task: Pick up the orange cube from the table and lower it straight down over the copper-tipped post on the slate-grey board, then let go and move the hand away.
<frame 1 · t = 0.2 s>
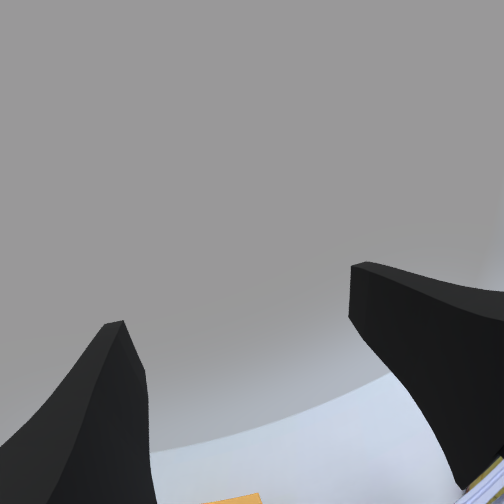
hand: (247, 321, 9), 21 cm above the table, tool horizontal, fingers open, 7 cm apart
sauce bottle: (485, 497, 13), on the table
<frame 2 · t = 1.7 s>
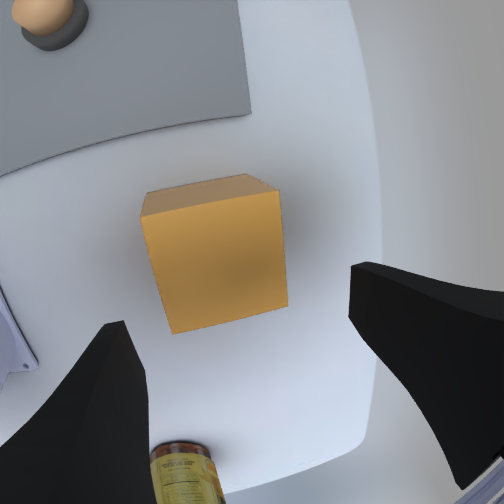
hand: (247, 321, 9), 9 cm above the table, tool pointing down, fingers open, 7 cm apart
post board: (67, 31, 11), on the table
orange cube: (205, 230, 17), on the table
sauce bottle: (179, 452, 24), on the table
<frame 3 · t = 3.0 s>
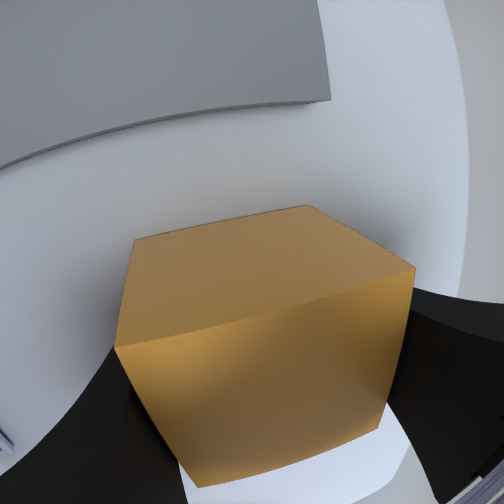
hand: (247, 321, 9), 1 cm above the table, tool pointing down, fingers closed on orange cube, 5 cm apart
orange cube: (236, 298, 10), on the table, touching gripper
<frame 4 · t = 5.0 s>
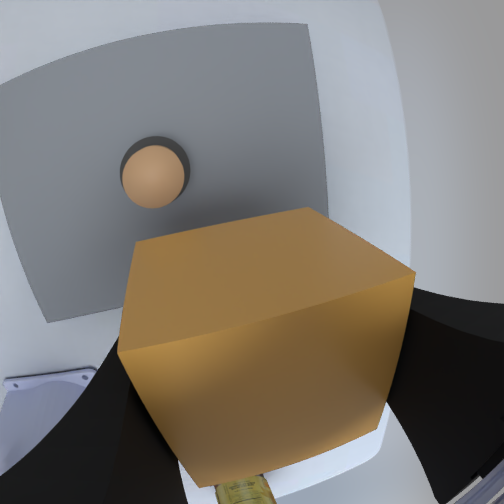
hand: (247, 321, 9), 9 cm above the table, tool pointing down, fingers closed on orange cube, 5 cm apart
post board: (156, 165, 15), on the table
orange cube: (237, 299, 10), point 8 cm above the table, touching gripper
sauce bottle: (237, 474, 29), on the table
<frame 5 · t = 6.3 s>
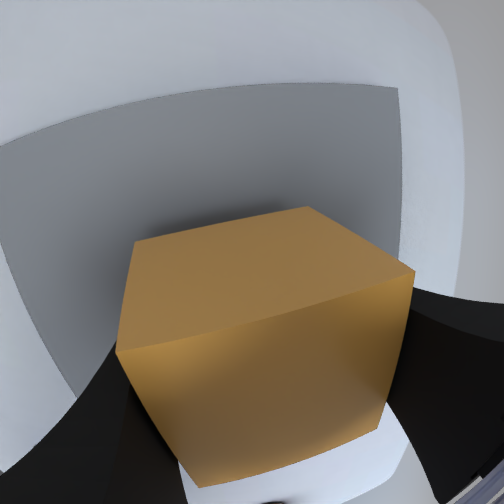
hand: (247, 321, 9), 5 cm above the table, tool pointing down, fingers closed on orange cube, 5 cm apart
post board: (217, 256, 14), on the table
orange cube: (236, 299, 10), point 4 cm above the table, touching gripper
when the fingers open (4 cm above the table, at t = 7.2 s): orange cube stays where it is, resting on post board.
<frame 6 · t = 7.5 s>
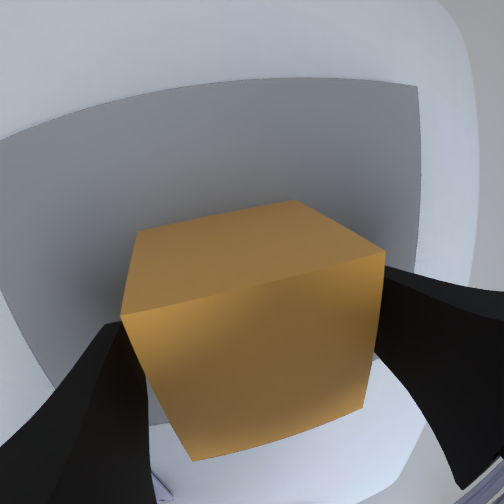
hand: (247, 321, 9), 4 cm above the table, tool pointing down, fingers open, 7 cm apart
post board: (222, 268, 13), on the table
orange cube: (230, 286, 11), point 1 cm above the table, touching post board
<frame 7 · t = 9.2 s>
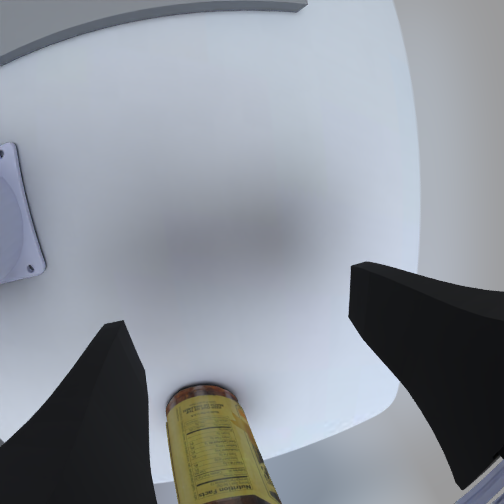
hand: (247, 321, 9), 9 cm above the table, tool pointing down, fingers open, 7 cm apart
sauce bottle: (201, 402, 23), on the table
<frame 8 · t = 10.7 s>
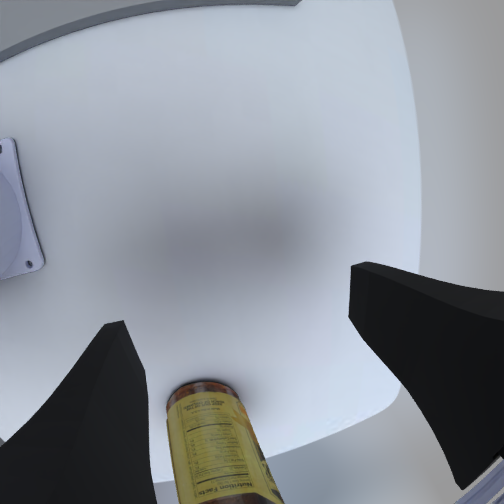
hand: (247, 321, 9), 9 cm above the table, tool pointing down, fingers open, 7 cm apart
sauce bottle: (202, 399, 23), on the table
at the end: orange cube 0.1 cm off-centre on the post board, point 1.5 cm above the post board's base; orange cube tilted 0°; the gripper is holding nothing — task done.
